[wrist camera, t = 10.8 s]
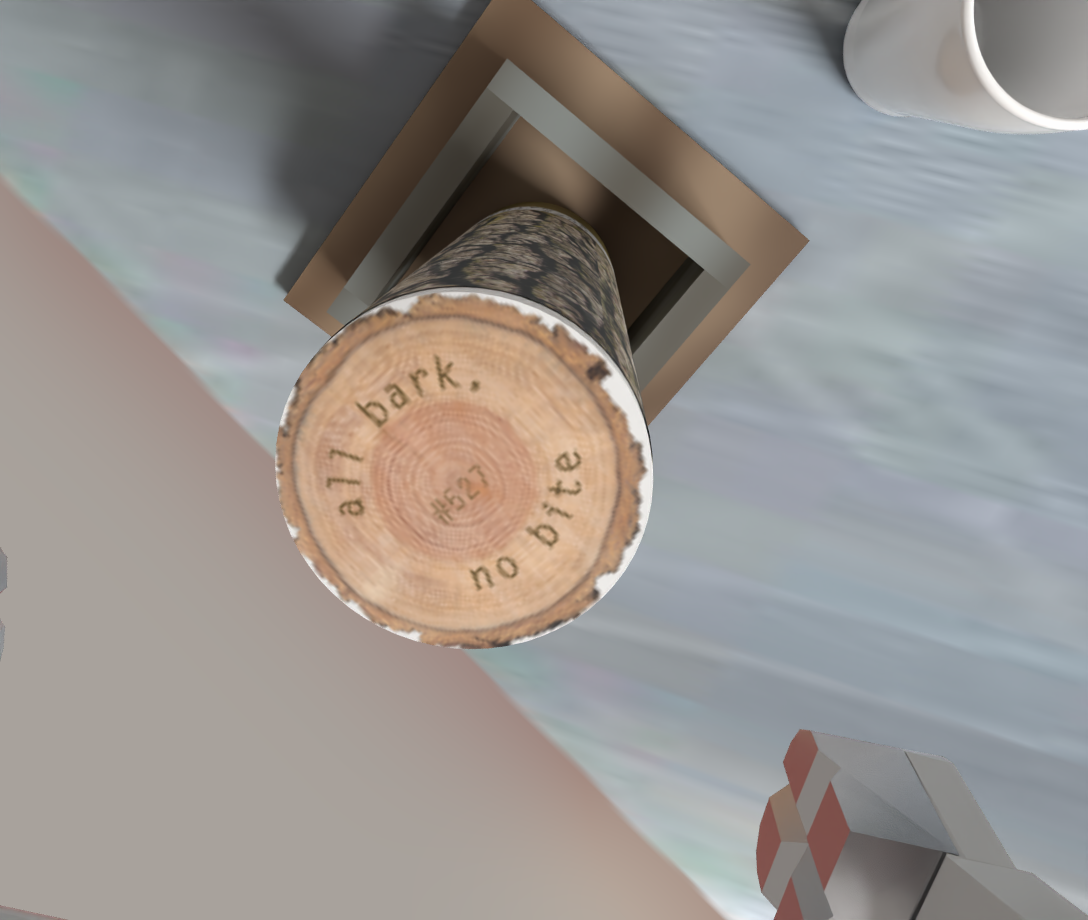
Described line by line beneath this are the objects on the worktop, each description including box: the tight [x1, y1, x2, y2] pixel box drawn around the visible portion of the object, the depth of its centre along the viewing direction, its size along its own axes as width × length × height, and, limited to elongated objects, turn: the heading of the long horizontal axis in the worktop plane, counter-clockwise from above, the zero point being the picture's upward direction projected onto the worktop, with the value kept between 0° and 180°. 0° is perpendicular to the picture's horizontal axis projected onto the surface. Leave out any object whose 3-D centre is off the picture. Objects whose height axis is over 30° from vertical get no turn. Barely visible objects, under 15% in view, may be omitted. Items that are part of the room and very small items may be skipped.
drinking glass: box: [843, 0, 1088, 135], centre depth 31 cm, size 7×7×15 cm
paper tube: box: [275, 202, 653, 649], centre depth 29 cm, size 7×7×25 cm
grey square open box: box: [284, 0, 809, 426], centre depth 38 cm, size 16×16×6 cm
